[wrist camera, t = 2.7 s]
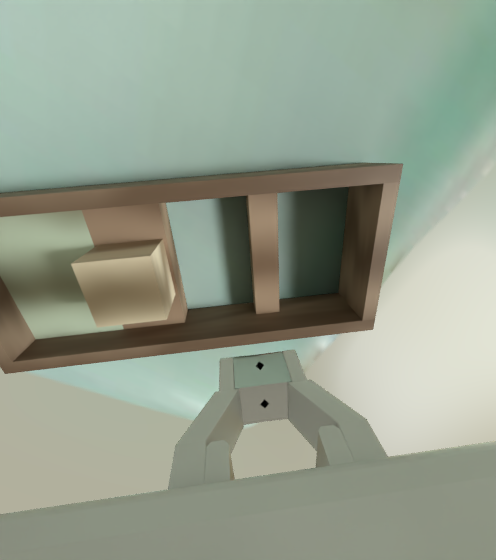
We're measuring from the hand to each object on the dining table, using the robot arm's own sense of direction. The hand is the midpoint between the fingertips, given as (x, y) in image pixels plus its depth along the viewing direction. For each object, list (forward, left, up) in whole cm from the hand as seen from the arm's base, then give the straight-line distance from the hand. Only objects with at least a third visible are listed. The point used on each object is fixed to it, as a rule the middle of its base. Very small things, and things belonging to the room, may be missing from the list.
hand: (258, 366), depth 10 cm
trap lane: (-1, -4, -12) cm, 13 cm away
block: (-1, -8, -10) cm, 13 cm away
